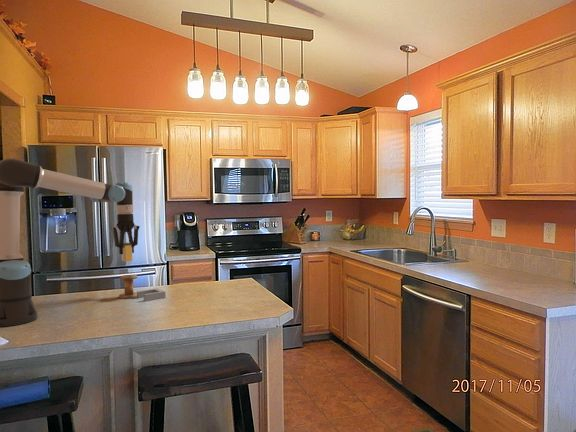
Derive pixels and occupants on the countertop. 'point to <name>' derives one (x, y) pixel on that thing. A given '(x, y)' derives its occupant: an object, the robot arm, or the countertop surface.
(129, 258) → the yellow upright block
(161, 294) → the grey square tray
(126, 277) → the bobbin
